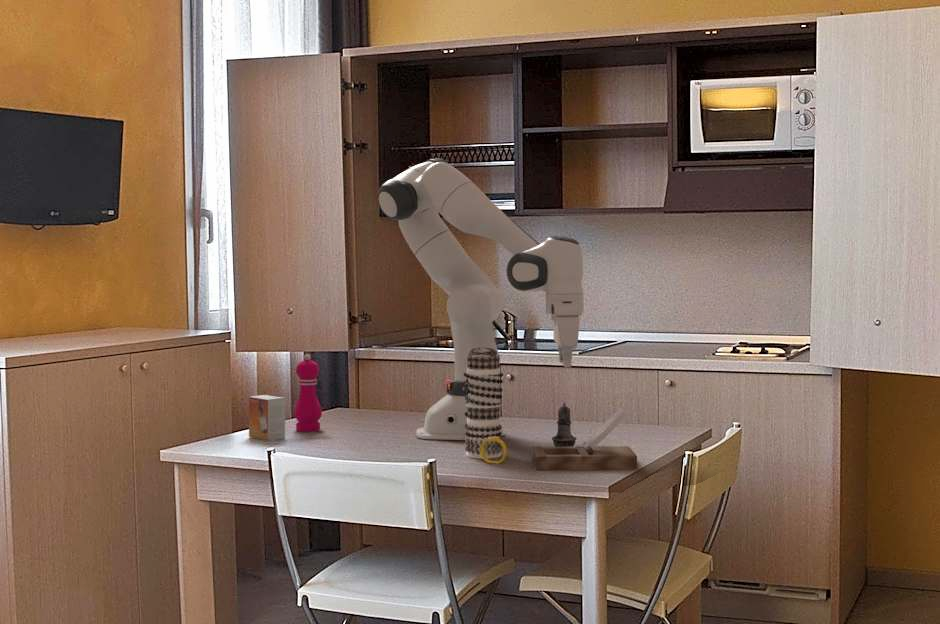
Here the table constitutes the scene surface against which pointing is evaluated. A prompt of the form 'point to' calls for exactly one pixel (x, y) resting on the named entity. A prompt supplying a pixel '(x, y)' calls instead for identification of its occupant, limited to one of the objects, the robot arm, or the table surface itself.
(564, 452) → the walnut holder
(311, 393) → the pepper mill
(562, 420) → the weathered chess piece
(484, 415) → the decorative candle
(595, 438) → the latch bar
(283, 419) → the small box
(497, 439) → the yellow faceted ring
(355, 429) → the table surface
